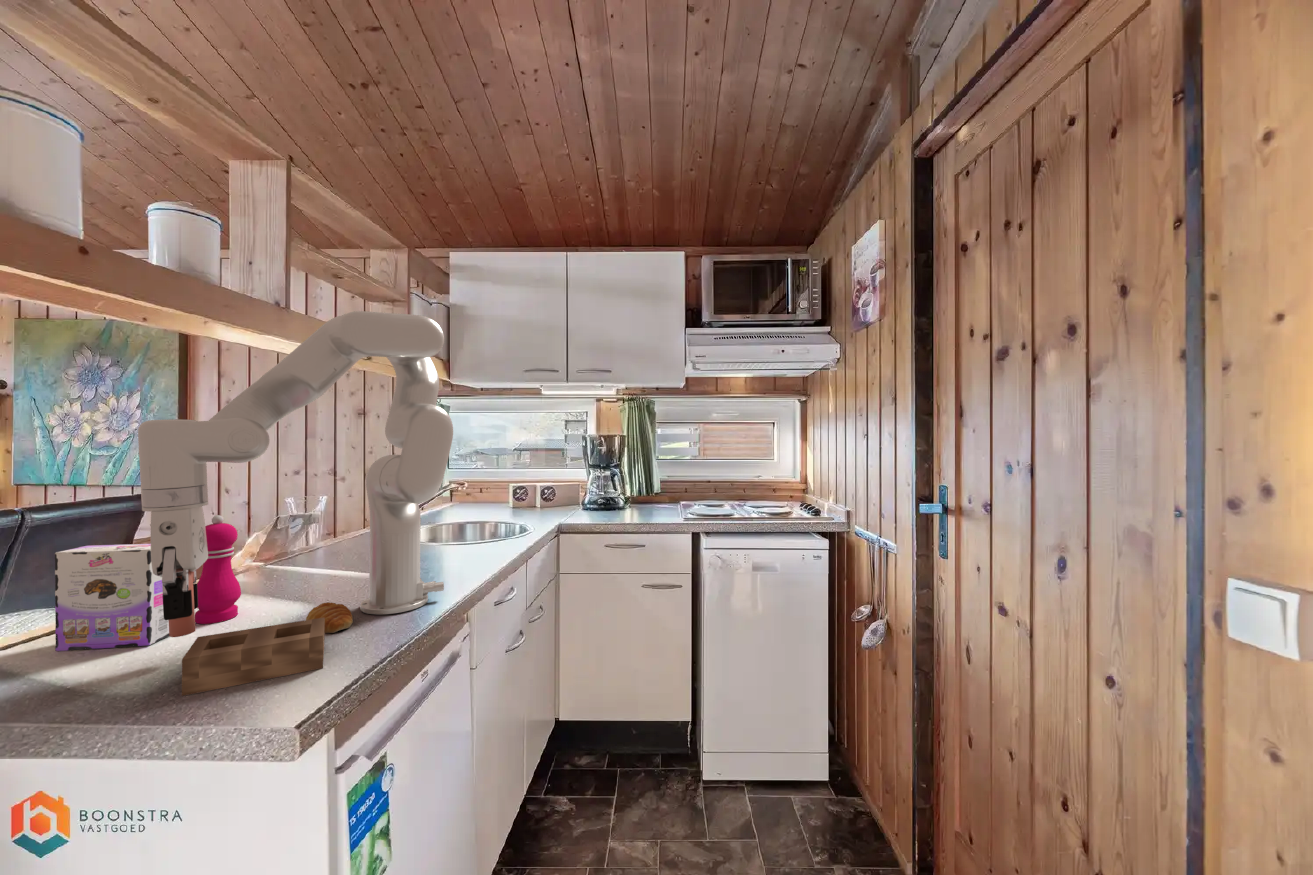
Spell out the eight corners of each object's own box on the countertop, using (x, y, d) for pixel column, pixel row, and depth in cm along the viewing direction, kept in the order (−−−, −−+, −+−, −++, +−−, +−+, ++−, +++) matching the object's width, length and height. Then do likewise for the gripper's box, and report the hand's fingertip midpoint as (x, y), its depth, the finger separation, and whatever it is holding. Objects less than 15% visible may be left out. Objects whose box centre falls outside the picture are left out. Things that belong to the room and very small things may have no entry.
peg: (197, 627, 81) (194, 566, 81) (192, 634, 79) (189, 571, 78) (172, 632, 80) (169, 569, 79) (166, 638, 77) (163, 574, 77)
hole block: (324, 647, 84) (324, 617, 84) (322, 668, 77) (323, 635, 77) (197, 669, 76) (197, 636, 76) (181, 696, 68) (182, 659, 68)
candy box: (176, 633, 90) (177, 541, 90) (148, 647, 84) (149, 548, 84) (86, 637, 87) (87, 543, 88) (51, 652, 82) (52, 551, 82)
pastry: (362, 627, 94) (362, 607, 94) (322, 639, 88) (322, 617, 88) (341, 616, 99) (340, 597, 99) (301, 627, 94) (301, 607, 94)
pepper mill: (250, 612, 100) (251, 512, 100) (215, 626, 93) (216, 518, 93) (217, 611, 101) (218, 512, 101) (180, 624, 94) (181, 517, 94)
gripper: (195, 502, 74) (201, 625, 74) (217, 490, 87) (222, 594, 88) (122, 507, 70) (130, 638, 70) (158, 494, 83) (164, 603, 84)
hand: (181, 612), depth 79 cm, fingers closed on peg, 3 cm apart
